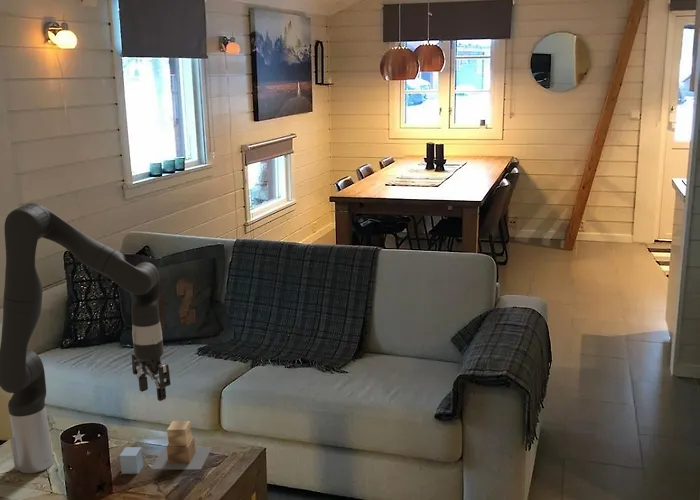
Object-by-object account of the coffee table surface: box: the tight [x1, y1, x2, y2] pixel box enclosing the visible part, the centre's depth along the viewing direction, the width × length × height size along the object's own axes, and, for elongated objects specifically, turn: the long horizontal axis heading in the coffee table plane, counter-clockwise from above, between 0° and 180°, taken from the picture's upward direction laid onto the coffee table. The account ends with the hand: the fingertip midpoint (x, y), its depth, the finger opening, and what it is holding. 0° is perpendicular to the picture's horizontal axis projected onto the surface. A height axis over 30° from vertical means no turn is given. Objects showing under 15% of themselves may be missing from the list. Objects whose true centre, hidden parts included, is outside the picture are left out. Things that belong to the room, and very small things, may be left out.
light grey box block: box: [119, 446, 144, 475], centre depth 203 cm, size 4×4×6 cm
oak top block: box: [167, 420, 193, 446], centre depth 206 cm, size 5×5×5 cm
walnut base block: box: [166, 435, 196, 463], centre depth 208 cm, size 6×6×5 cm
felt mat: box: [150, 446, 213, 471], centre depth 208 cm, size 14×12×1 cm
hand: (152, 395), depth 200 cm, fingers open, 8 cm apart
